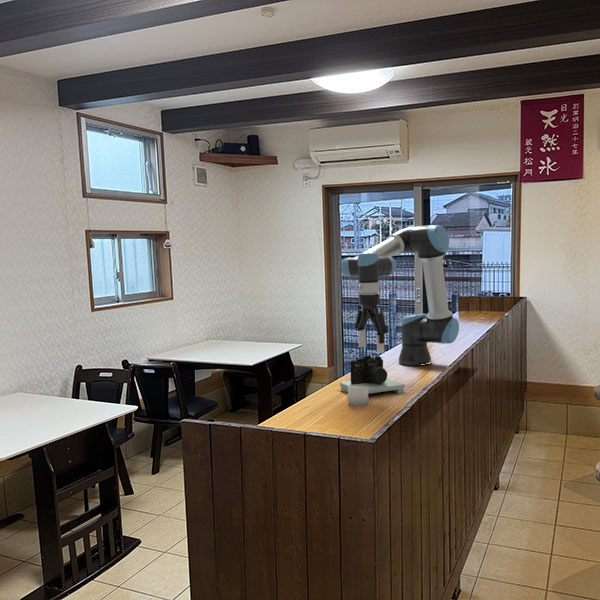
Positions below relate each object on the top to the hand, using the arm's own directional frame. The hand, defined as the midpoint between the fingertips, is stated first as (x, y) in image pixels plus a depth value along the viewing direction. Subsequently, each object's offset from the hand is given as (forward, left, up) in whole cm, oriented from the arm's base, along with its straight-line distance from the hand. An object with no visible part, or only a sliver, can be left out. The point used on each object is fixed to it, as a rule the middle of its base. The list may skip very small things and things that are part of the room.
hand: (371, 349), depth 212 cm
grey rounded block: (+13, +13, -16) cm, 25 cm away
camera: (0, 0, -13) cm, 13 cm away
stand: (0, 0, -16) cm, 16 cm away
